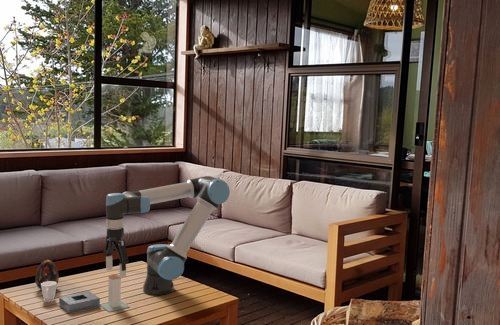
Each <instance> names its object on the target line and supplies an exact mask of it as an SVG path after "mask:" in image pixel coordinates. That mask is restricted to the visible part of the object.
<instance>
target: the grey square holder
mask: <svg viewBox="0 0 500 325" xmlns="http://www.w3.org/2000/svg"><path fill="white" fill-rule="evenodd" d="M100 303H101V298H100V297H99V296H97V295H96V294H95V293H93V292H91V291H90V290H88V291H87V290H85V291H83V292H82V291H81V292H77V293H72V294H67V295H62V296H59V298H58V305H59V307H60V306H61V307H60V308H62V310H64V311H65V312H67V313H68V314H74V313H79V312H83V311H87V310H92V309H96V308H100V307H101V306H100Z"/></svg>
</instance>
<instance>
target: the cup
mask: <svg viewBox="0 0 500 325" xmlns="http://www.w3.org/2000/svg"><path fill="white" fill-rule="evenodd" d="M57 285H58V284H57V283H56V282H54V281H47V282H43V283H42V284H41V288H42V291H41V293H42V296H43V301H44V302H45V303H50V301H51V302H53V301H55V299H54V298H55V296H56V291H57Z"/></svg>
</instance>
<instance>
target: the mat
mask: <svg viewBox="0 0 500 325" xmlns="http://www.w3.org/2000/svg"><path fill="white" fill-rule="evenodd" d="M100 307H101V308H102V309H103V310H105V311H106V312H108V313H112V312H115V311H121V310H123V309H124V310H125V309H128V308H130V306H129V305H128V304H126V303H125V302H123V301H121V306H118V307H114V308H112V307H110V306H109V305H108V302H105V303H101V304H100Z"/></svg>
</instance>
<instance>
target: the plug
mask: <svg viewBox="0 0 500 325" xmlns="http://www.w3.org/2000/svg"><path fill="white" fill-rule="evenodd" d="M121 282H122V278H120V274H119V273H114V274H109V275H108V296H107V298H108V302H107V303H108V305H109V306H110V307H112V308H114V307H118V306H121V293H122V291H121V290H122V289H121V288H122V287H121V286H122V283H121Z"/></svg>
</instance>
